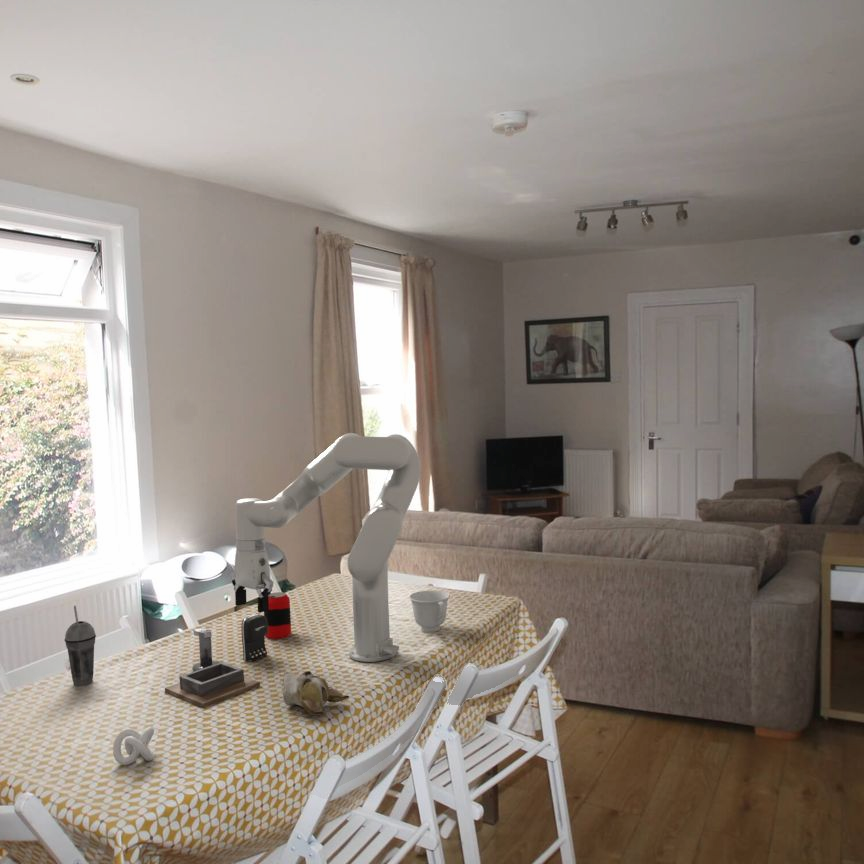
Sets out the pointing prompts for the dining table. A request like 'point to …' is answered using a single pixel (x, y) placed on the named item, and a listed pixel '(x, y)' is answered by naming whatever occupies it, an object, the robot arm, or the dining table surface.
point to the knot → (133, 745)
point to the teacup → (429, 609)
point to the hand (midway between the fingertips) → (252, 608)
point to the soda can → (278, 616)
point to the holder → (212, 684)
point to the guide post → (204, 649)
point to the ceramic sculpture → (309, 692)
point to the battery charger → (254, 637)
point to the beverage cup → (81, 651)
